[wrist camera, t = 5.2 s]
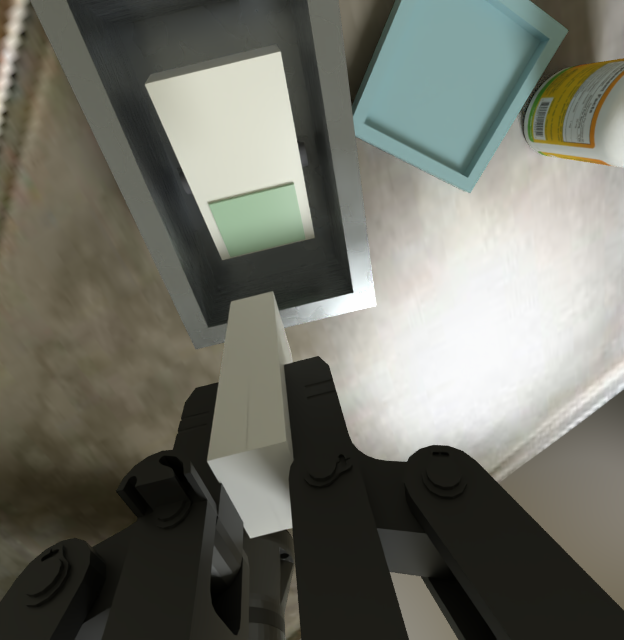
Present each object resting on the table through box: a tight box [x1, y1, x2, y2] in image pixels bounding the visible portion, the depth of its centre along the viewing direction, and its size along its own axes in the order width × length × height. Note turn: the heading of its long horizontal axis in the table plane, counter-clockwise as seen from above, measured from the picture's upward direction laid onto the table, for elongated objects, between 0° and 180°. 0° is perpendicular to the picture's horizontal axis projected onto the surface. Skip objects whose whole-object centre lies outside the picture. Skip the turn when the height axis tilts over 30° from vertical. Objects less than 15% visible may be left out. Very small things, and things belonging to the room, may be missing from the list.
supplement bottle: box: [524, 59, 624, 167], centre depth 21 cm, size 5×5×10 cm
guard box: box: [30, 0, 376, 349], centre depth 20 cm, size 17×11×8 cm, turn 11°
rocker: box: [145, 44, 315, 260], centre depth 19 cm, size 10×7×2 cm
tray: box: [352, 0, 569, 193], centre depth 22 cm, size 10×10×2 cm
